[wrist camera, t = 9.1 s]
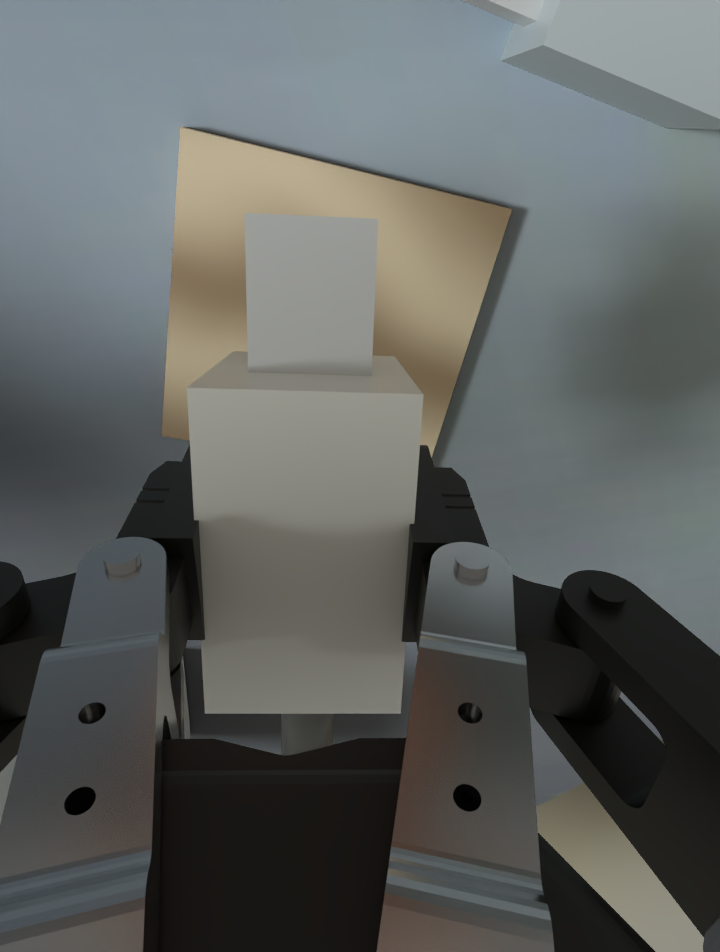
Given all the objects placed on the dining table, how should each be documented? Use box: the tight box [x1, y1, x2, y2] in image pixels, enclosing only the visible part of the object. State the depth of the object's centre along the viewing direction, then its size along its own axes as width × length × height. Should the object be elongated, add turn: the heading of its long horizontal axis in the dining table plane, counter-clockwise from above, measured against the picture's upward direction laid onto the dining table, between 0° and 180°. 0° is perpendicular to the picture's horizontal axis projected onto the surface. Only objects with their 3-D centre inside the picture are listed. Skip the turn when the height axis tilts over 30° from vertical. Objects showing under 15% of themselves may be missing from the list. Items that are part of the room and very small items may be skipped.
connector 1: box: [187, 213, 424, 755], centre depth 12 cm, size 12×4×4 cm, turn 178°
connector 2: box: [462, 0, 720, 129], centre depth 16 cm, size 12×4×4 cm, turn 72°
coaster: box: [161, 127, 512, 458], centre depth 22 cm, size 11×11×1 cm
